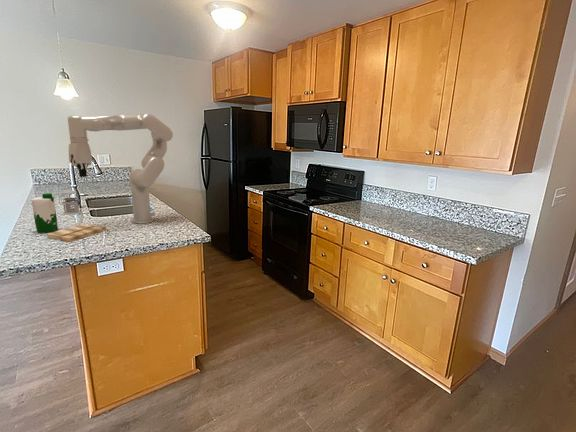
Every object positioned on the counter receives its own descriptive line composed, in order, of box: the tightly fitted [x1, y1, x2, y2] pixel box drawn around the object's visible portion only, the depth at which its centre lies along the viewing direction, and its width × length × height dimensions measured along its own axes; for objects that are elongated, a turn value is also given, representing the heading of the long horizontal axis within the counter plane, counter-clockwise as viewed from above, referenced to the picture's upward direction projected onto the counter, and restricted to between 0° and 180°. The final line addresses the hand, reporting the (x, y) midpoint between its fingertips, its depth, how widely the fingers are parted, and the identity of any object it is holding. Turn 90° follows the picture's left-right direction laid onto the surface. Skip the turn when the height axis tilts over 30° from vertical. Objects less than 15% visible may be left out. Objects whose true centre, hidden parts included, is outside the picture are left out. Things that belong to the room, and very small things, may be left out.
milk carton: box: [31, 192, 58, 234], centre depth 167 cm, size 9×9×20 cm
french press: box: [58, 174, 81, 216], centre depth 205 cm, size 10×12×25 cm
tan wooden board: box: [46, 223, 94, 241], centre depth 166 cm, size 20×9×2 cm, turn 165°
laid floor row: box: [59, 225, 107, 243], centre depth 164 cm, size 22×6×2 cm, turn 165°
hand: (83, 176), depth 168 cm, fingers closed
